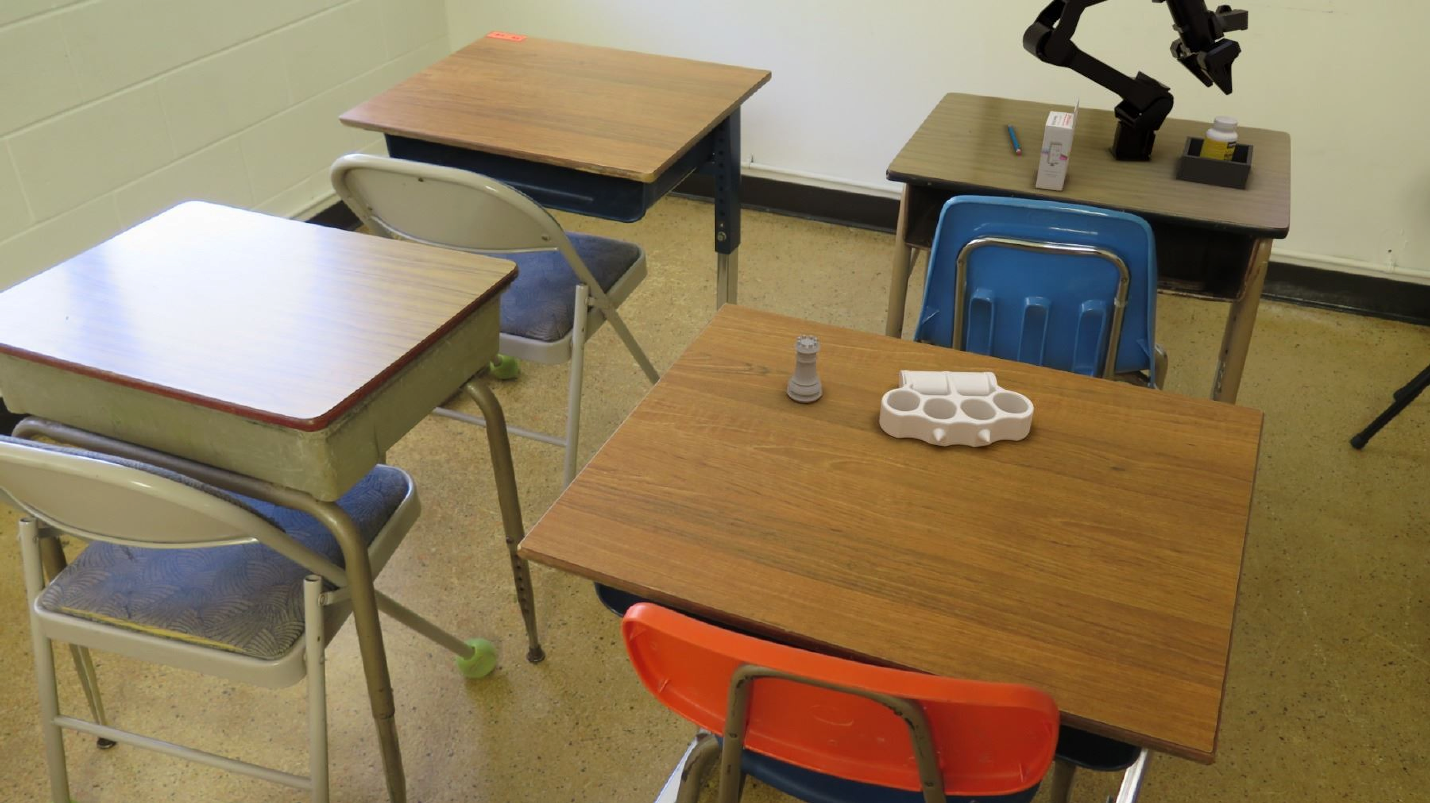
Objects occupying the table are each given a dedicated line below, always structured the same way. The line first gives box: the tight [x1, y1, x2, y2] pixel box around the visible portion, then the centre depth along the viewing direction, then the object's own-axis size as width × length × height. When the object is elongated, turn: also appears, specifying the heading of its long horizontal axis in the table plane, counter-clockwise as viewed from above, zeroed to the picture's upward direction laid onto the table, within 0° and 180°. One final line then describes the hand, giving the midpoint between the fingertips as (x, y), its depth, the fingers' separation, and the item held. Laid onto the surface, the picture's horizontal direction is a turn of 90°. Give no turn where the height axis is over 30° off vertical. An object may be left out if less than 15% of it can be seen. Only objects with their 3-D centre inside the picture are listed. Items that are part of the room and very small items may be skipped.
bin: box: [1176, 135, 1254, 190], centre depth 195 cm, size 12×12×4 cm
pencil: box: [1007, 124, 1022, 156], centre depth 211 cm, size 1×17×1 cm, turn 173°
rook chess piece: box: [786, 334, 823, 404], centre depth 131 cm, size 4×4×8 cm
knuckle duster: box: [878, 369, 1035, 448], centre depth 128 cm, size 3×18×15 cm
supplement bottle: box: [1200, 115, 1239, 161], centre depth 194 cm, size 5×5×10 cm
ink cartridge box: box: [1035, 97, 1080, 192], centre depth 189 cm, size 9×5×15 cm, turn 160°
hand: (1219, 90), depth 195 cm, fingers open, 9 cm apart
